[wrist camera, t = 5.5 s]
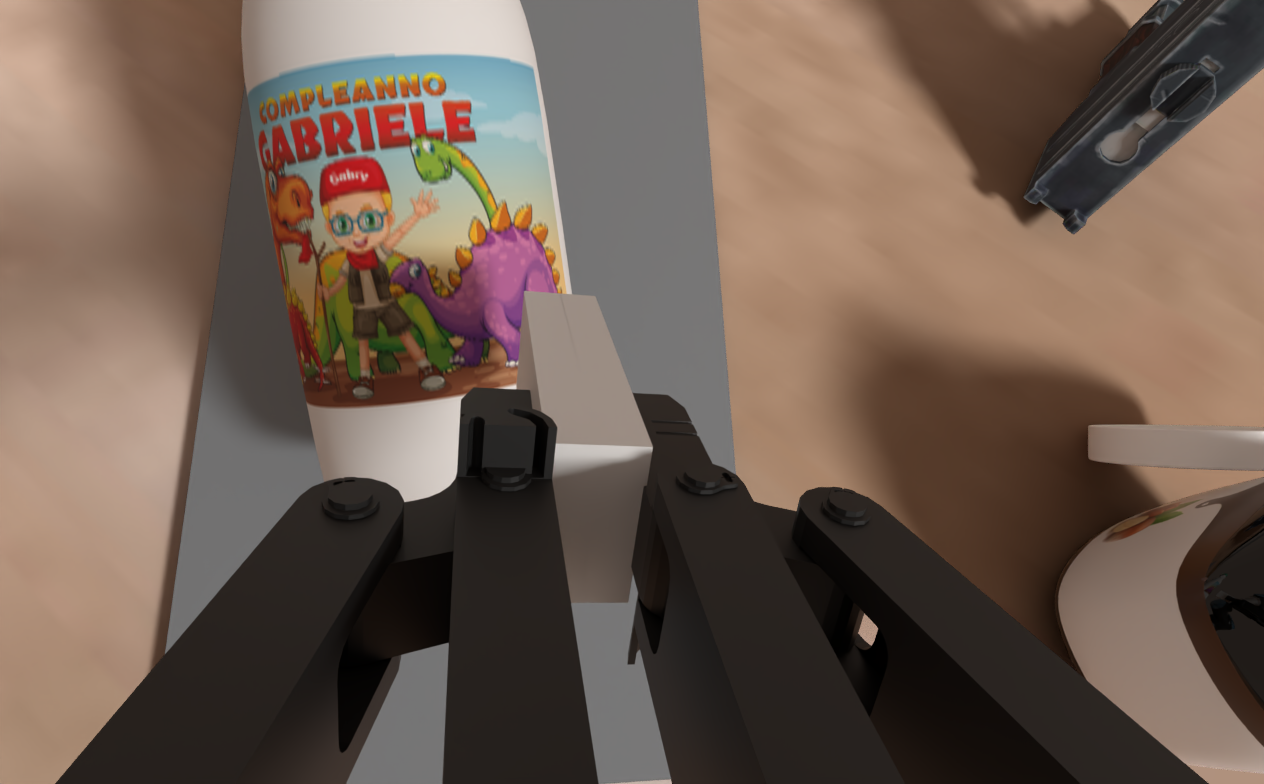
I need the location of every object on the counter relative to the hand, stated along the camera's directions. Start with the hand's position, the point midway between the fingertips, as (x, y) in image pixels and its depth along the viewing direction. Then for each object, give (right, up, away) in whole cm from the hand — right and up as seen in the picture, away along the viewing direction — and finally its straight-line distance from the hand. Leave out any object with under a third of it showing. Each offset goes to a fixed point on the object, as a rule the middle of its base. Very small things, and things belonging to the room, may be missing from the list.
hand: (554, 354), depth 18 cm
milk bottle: (-3, -3, +7) cm, 8 cm away
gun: (+24, +12, +23) cm, 35 cm away
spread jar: (+21, -8, +15) cm, 27 cm away
